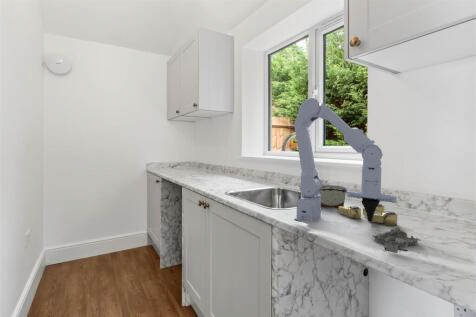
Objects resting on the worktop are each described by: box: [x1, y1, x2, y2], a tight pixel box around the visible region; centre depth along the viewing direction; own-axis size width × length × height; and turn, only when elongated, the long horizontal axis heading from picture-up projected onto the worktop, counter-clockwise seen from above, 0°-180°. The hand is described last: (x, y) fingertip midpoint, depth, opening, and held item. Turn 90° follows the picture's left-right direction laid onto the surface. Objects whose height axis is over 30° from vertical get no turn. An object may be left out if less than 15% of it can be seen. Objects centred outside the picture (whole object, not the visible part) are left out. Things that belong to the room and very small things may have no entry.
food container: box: [319, 184, 348, 210], centre depth 109 cm, size 12×6×10 cm, turn 74°
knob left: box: [337, 205, 362, 220], centre depth 94 cm, size 8×4×4 cm, turn 29°
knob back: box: [362, 203, 385, 217], centre depth 95 cm, size 8×4×4 cm, turn 108°
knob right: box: [371, 210, 399, 227], centre depth 85 cm, size 8×4×4 cm, turn 70°
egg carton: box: [372, 227, 421, 254], centre depth 69 cm, size 11×8×4 cm
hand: (370, 221), depth 84 cm, fingers closed
